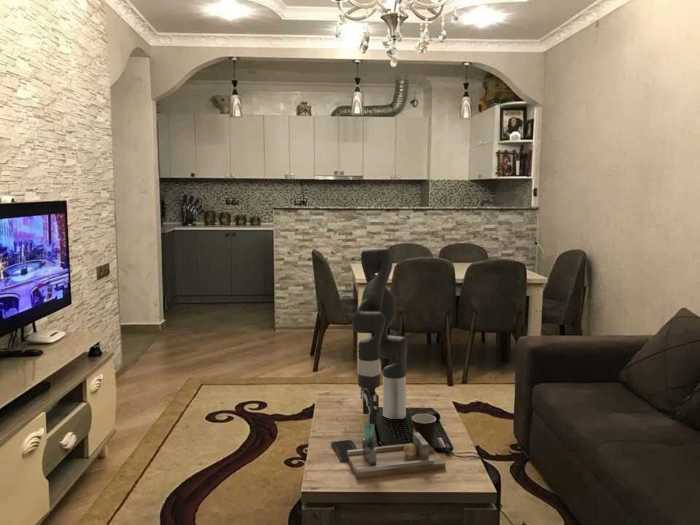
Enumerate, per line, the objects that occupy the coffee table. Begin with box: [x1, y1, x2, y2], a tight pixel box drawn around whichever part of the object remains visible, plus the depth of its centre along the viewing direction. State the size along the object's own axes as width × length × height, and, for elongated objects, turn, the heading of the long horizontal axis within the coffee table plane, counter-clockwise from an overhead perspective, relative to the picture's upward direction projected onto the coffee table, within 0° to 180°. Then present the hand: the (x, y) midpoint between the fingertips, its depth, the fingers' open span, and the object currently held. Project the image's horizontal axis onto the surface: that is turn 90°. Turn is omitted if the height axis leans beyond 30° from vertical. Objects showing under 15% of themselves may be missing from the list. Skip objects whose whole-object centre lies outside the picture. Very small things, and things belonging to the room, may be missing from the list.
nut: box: [404, 442, 417, 459], centre depth 202 cm, size 4×4×4 cm
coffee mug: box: [411, 413, 437, 445], centre depth 217 cm, size 12×9×10 cm
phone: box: [330, 439, 358, 463], centre depth 211 cm, size 8×1×15 cm
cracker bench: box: [347, 432, 446, 480], centre depth 201 cm, size 15×30×8 cm, turn 103°
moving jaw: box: [362, 421, 376, 466], centre depth 198 cm, size 10×3×13 cm, turn 13°
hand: (369, 418), depth 197 cm, fingers open, 8 cm apart
